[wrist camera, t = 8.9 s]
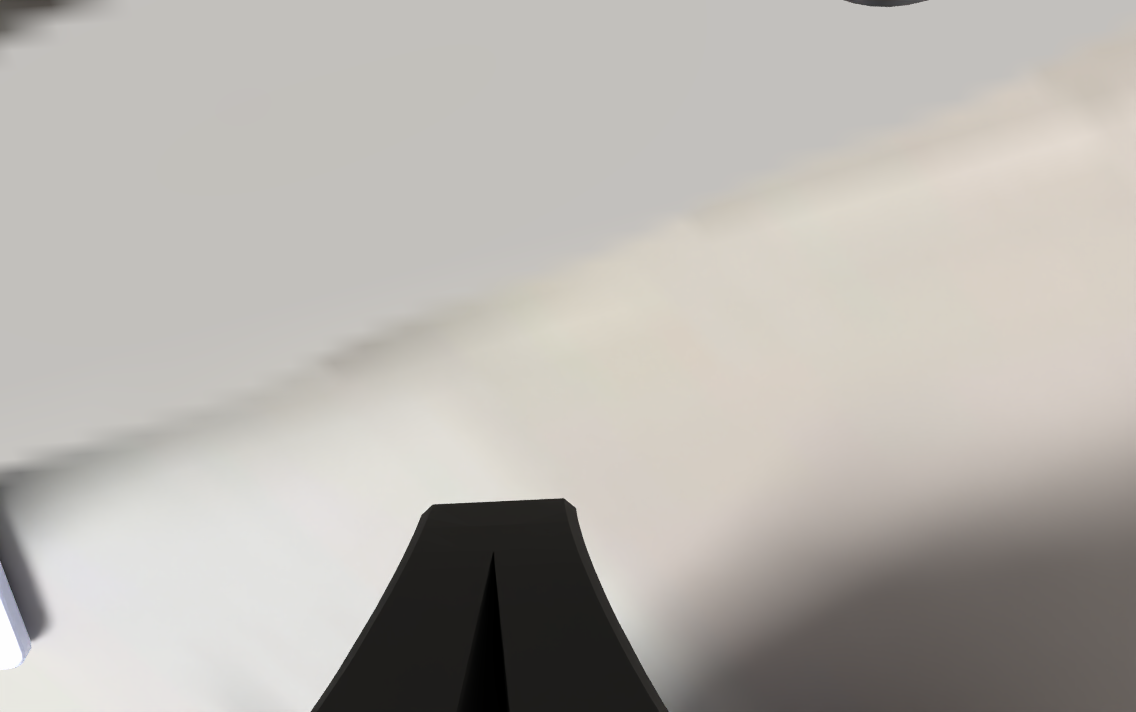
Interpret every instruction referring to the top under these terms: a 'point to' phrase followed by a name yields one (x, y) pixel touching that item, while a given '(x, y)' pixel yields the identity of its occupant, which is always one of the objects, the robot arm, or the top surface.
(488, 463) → the top surface
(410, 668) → the robot arm
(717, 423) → the top surface
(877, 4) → the metal post
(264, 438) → the top surface
